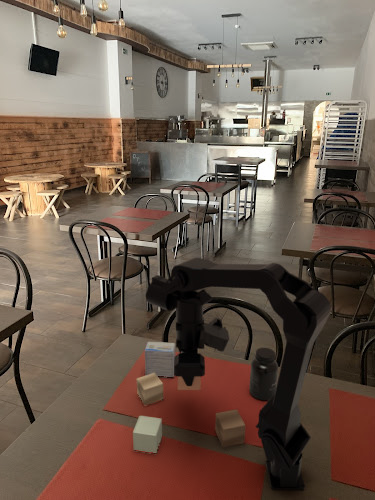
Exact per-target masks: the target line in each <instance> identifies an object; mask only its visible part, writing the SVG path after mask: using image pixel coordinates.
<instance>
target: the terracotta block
mask: <svg viewBox="0 0 375 500" xmlns="http://www.w3.org/2000/svg"><path fill="white" fill-rule="evenodd" d="M201 381H202V379H201V377H194V380H193V383H192V386H187V385H186V384H185V382H184V380H183V378H182V377H178V376H177V390H178V391H201V386H202V385H201V384H202V383H201Z"/></svg>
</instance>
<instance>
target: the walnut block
mask: <svg viewBox="0 0 375 500" xmlns="http://www.w3.org/2000/svg"><path fill="white" fill-rule="evenodd" d="M214 425H215V434H216V436H217V438H218V439H219V442H220V444H221V448H222V449H223V448H228V447H232V446H233V447H234V446H237V445H238V446H239V445H242V444H245V440H246V439H245V438H246V437H245V436H246V435H245V434H246V424H245V422H244V420H243V418H242V416H241V415H240V412H239V411H238V409H232V410H227V411H220V412H216V413H215V424H214Z"/></svg>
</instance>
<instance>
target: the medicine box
mask: <svg viewBox="0 0 375 500" xmlns="http://www.w3.org/2000/svg"><path fill="white" fill-rule="evenodd" d="M175 356H176V342H163V341H161V342H160V341H159V342H158V341H147V343H146V345H145V348H144V367H145V369H144V370H145V376H146V375H149V374H152V373H155V374H156V375H157V376H164V377H163V378H167V377H175V375H174V357H175ZM165 376H166V377H165Z"/></svg>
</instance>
